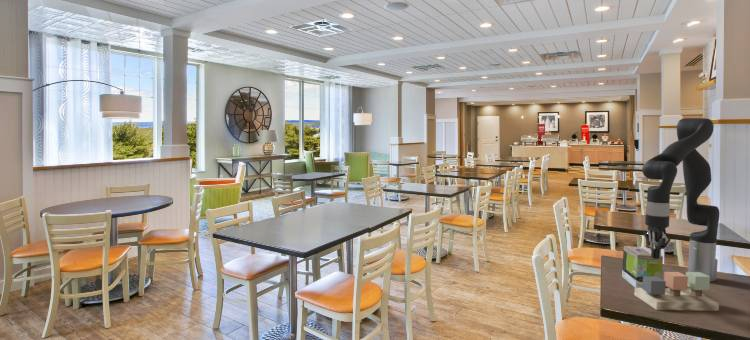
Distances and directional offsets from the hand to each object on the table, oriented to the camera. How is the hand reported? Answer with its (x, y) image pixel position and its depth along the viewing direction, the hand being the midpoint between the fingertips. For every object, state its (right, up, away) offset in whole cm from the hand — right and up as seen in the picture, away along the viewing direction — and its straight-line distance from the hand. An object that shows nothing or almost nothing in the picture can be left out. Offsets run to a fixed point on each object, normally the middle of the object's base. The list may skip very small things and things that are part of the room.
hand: (655, 258), depth 156 cm
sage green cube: (+16, -11, 0) cm, 20 cm away
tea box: (+8, -16, +21) cm, 28 cm away
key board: (+8, -17, +1) cm, 19 cm away
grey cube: (0, -13, +1) cm, 13 cm away
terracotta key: (+8, -11, 0) cm, 14 cm away
